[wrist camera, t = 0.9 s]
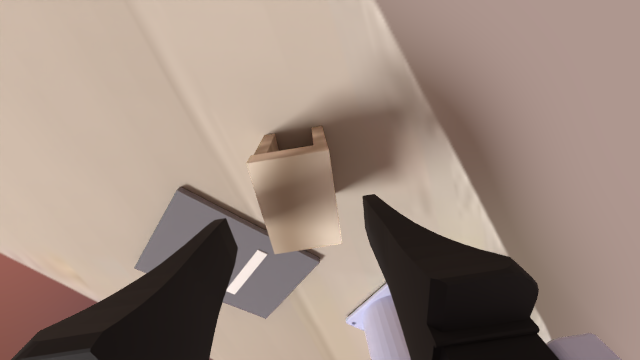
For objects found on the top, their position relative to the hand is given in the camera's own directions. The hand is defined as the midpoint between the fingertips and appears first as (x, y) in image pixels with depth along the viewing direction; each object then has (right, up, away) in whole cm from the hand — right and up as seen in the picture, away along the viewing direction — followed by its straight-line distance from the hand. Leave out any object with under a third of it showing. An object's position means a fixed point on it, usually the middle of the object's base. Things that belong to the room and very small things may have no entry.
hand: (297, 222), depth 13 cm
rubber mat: (-8, -6, +11) cm, 14 cm away
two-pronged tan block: (0, +3, +7) cm, 8 cm away
